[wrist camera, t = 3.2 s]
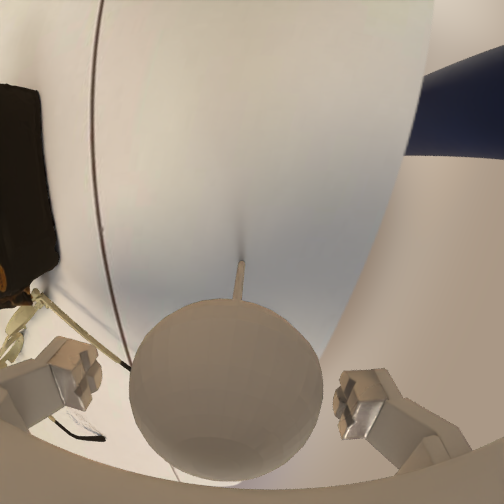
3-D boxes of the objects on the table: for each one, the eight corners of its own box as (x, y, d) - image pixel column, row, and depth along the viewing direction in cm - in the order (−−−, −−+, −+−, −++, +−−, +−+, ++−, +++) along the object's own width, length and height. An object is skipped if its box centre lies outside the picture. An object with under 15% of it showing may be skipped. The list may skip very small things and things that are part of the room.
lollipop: (266, 315, 21) (278, 518, 7) (188, 289, 21) (102, 476, 6) (299, 236, 19) (393, 410, 5) (214, 206, 19) (100, 333, 4)
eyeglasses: (58, 265, 20) (21, 288, 15) (189, 388, 23) (178, 431, 18) (9, 355, 24) (-14, 378, 19) (104, 440, 27) (90, 470, 22)
